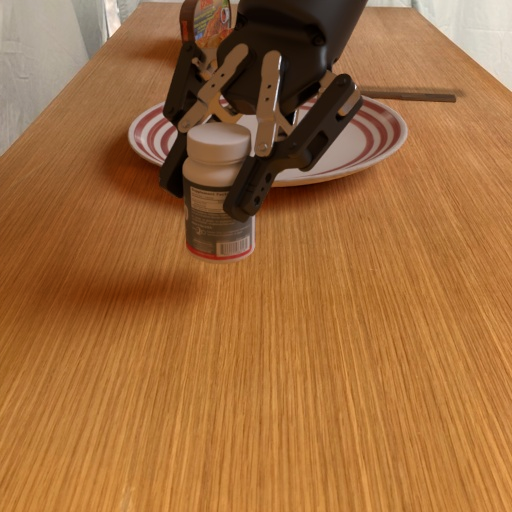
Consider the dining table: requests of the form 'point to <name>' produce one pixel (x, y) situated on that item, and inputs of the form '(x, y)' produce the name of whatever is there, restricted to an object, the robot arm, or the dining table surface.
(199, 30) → the tin
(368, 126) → the dinner plate
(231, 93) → the robot arm
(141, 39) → the dining table surface
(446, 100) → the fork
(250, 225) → the pill bottle
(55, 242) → the dining table surface
